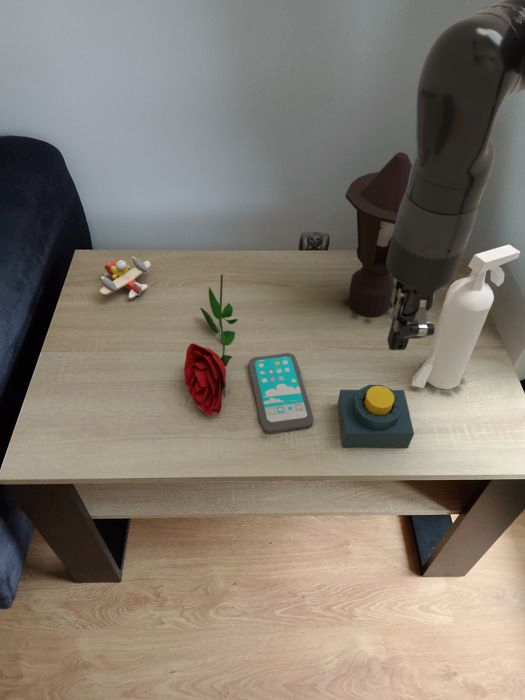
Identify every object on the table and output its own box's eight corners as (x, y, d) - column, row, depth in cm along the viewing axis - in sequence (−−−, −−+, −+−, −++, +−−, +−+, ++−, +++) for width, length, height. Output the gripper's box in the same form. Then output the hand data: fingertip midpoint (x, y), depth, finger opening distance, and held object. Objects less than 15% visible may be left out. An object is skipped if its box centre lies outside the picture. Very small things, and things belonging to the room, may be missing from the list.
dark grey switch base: (398, 404, 82) (407, 381, 78) (408, 448, 77) (417, 426, 73) (337, 404, 82) (341, 381, 78) (342, 447, 77) (347, 425, 72)
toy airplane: (108, 274, 103) (100, 248, 98) (153, 273, 104) (148, 247, 99) (101, 305, 97) (93, 279, 92) (149, 303, 98) (143, 278, 93)
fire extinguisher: (394, 374, 87) (432, 256, 68) (450, 351, 90) (501, 233, 72) (419, 403, 83) (467, 286, 64) (477, 378, 86) (538, 260, 68)
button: (389, 393, 77) (391, 385, 75) (393, 416, 74) (396, 407, 73) (362, 393, 77) (364, 385, 75) (366, 415, 74) (368, 407, 73)
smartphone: (262, 431, 77) (246, 357, 87) (262, 434, 78) (246, 361, 88) (316, 423, 78) (295, 351, 88) (316, 426, 79) (294, 355, 89)
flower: (203, 248, 91) (194, 390, 73) (250, 265, 94) (252, 405, 76) (184, 280, 97) (171, 418, 79) (229, 295, 101) (226, 431, 83)
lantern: (418, 326, 94) (468, 177, 72) (340, 334, 93) (367, 184, 70) (393, 275, 104) (431, 129, 82) (322, 281, 103) (341, 135, 80)
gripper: (485, 275, 48) (436, 386, 61) (450, 199, 57) (414, 310, 70) (406, 274, 48) (374, 386, 61) (384, 198, 57) (360, 310, 70)
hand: (396, 345), depth 66 cm, fingers closed
